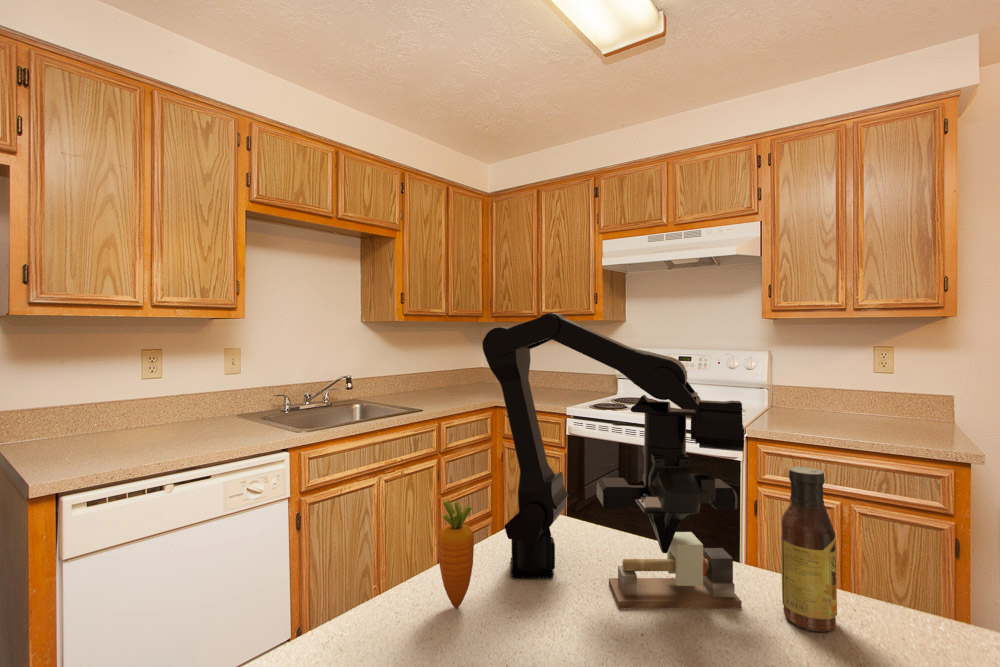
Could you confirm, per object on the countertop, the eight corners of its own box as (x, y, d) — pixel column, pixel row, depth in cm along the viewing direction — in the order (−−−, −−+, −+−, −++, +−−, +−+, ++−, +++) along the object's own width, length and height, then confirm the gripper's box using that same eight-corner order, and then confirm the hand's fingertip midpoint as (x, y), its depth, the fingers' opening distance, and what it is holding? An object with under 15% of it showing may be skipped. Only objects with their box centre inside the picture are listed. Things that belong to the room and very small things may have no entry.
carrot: (481, 607, 70) (481, 500, 70) (455, 622, 66) (454, 509, 66) (457, 594, 73) (457, 492, 73) (431, 608, 70) (430, 501, 70)
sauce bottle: (846, 637, 63) (846, 479, 62) (791, 631, 64) (791, 476, 64) (823, 609, 69) (823, 465, 69) (774, 604, 70) (774, 463, 70)
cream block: (677, 585, 70) (677, 544, 70) (667, 570, 75) (667, 532, 75) (703, 585, 70) (703, 544, 70) (691, 570, 75) (691, 531, 75)
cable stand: (618, 608, 69) (618, 563, 69) (608, 584, 76) (608, 543, 76) (741, 608, 69) (741, 563, 69) (721, 584, 76) (721, 543, 76)
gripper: (612, 458, 64) (611, 579, 65) (758, 459, 64) (756, 580, 64) (596, 439, 76) (595, 542, 76) (720, 440, 75) (719, 543, 75)
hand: (663, 552), depth 72 cm, fingers closed
